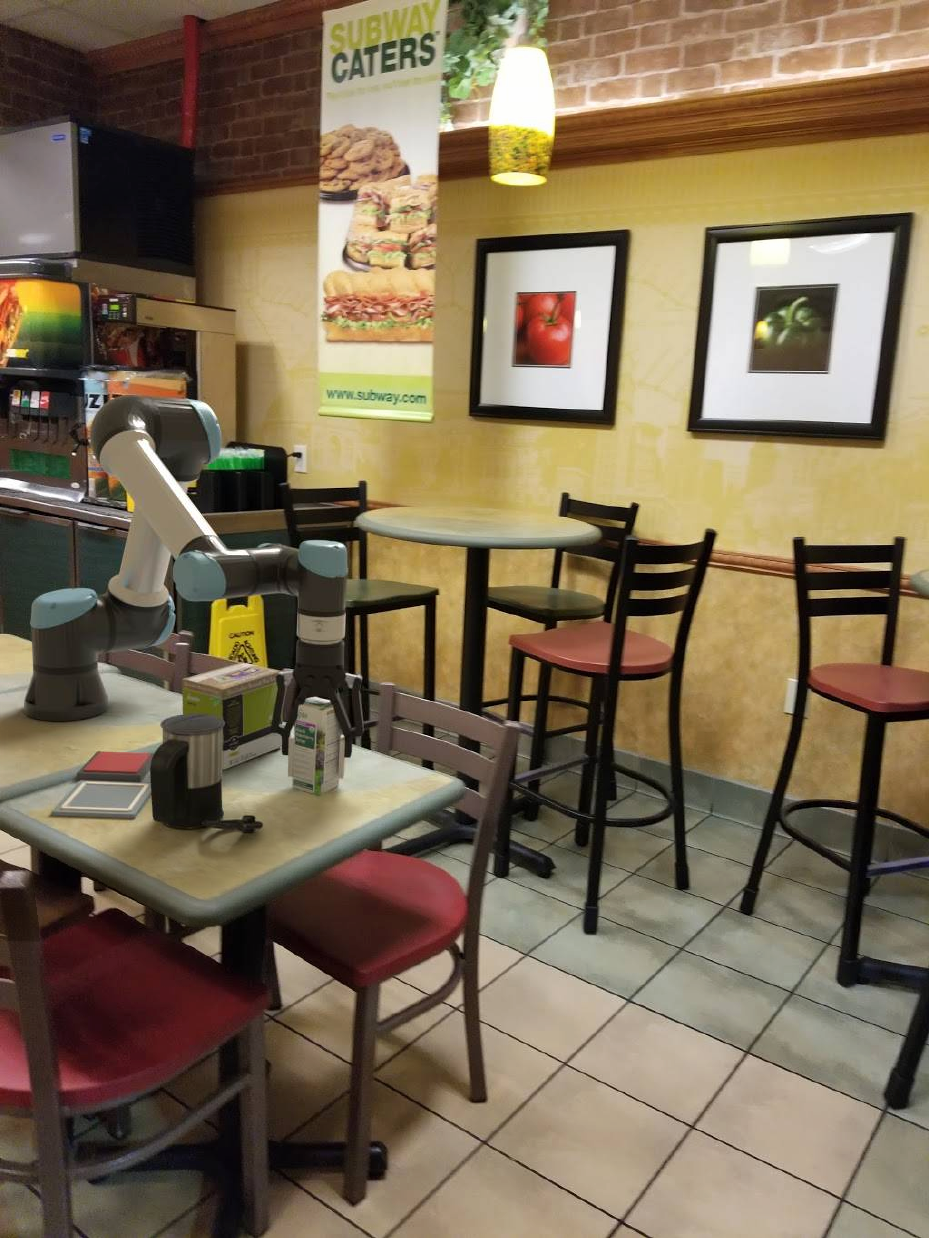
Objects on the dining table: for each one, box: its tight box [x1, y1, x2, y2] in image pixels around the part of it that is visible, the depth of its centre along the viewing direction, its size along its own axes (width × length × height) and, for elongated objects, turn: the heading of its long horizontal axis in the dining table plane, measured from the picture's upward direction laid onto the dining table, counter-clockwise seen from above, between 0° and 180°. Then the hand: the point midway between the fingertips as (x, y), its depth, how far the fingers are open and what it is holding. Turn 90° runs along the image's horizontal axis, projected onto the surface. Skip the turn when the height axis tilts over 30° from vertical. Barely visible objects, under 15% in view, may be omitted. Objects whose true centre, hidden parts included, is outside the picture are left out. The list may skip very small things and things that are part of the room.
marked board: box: [50, 780, 151, 819], centre depth 142 cm, size 12×12×1 cm
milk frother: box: [149, 714, 264, 835], centre depth 134 cm, size 14×16×15 cm
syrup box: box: [291, 696, 342, 796], centre depth 151 cm, size 6×6×14 cm
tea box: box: [181, 661, 283, 771], centre depth 163 cm, size 15×10×15 cm, turn 149°
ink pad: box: [76, 750, 155, 783], centre depth 154 cm, size 10×10×2 cm
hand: (316, 774), depth 152 cm, fingers closed on syrup box, 7 cm apart
